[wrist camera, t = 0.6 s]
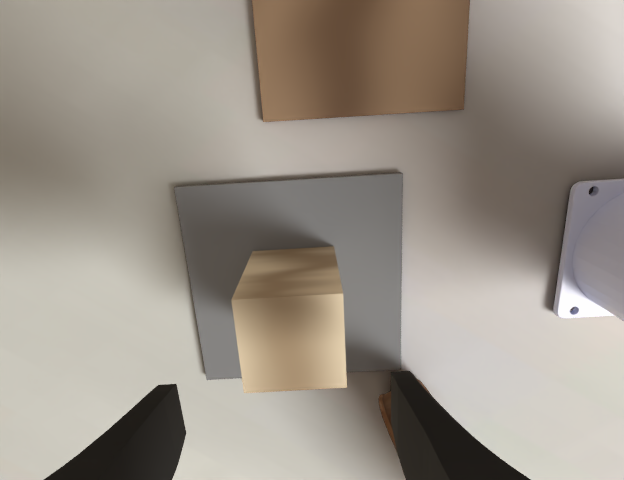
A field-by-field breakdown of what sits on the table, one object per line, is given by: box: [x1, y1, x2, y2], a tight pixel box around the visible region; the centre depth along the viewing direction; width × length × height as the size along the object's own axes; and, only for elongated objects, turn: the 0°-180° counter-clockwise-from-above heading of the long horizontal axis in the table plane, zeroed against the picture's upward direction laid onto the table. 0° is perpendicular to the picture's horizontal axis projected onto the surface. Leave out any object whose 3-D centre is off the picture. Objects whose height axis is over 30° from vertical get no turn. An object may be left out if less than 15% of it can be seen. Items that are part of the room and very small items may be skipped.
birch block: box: [231, 246, 347, 393], centre depth 19 cm, size 4×4×6 cm
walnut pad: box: [252, 0, 470, 122], centre depth 18 cm, size 10×10×1 cm
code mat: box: [174, 173, 403, 380], centre depth 22 cm, size 12×12×1 cm
